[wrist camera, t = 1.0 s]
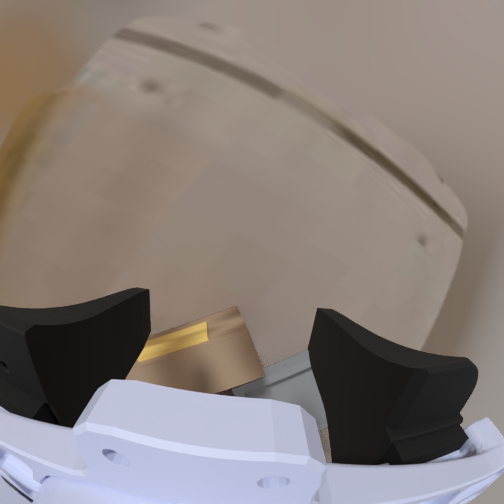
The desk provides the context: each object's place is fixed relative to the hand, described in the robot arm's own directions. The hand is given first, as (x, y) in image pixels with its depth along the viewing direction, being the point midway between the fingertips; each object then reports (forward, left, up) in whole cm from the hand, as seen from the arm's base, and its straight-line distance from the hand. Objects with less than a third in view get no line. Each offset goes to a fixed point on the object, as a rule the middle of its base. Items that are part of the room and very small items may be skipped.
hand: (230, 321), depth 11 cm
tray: (+3, -17, -14) cm, 22 cm away
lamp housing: (-5, -6, -14) cm, 16 cm away
